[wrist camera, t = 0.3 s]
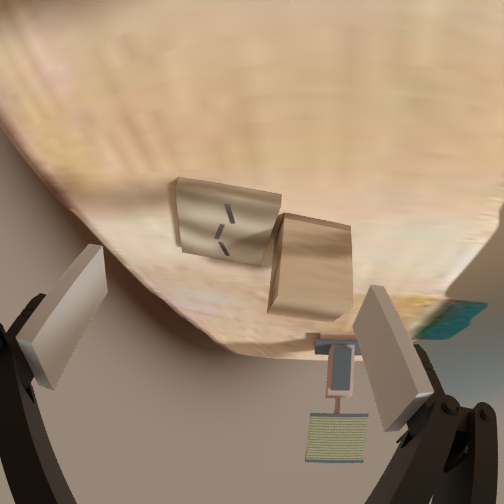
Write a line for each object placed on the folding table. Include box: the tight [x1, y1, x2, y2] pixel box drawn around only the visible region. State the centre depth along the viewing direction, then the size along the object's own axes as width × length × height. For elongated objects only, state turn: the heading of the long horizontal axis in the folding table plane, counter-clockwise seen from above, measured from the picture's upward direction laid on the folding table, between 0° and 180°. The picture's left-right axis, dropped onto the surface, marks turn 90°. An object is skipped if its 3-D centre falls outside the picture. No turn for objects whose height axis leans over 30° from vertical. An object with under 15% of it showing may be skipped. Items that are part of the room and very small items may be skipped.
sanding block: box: [267, 213, 353, 322], centre depth 36 cm, size 6×8×10 cm
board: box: [175, 178, 282, 266], centre depth 38 cm, size 14×11×2 cm
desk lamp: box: [305, 333, 368, 463], centre depth 72 cm, size 18×14×33 cm
